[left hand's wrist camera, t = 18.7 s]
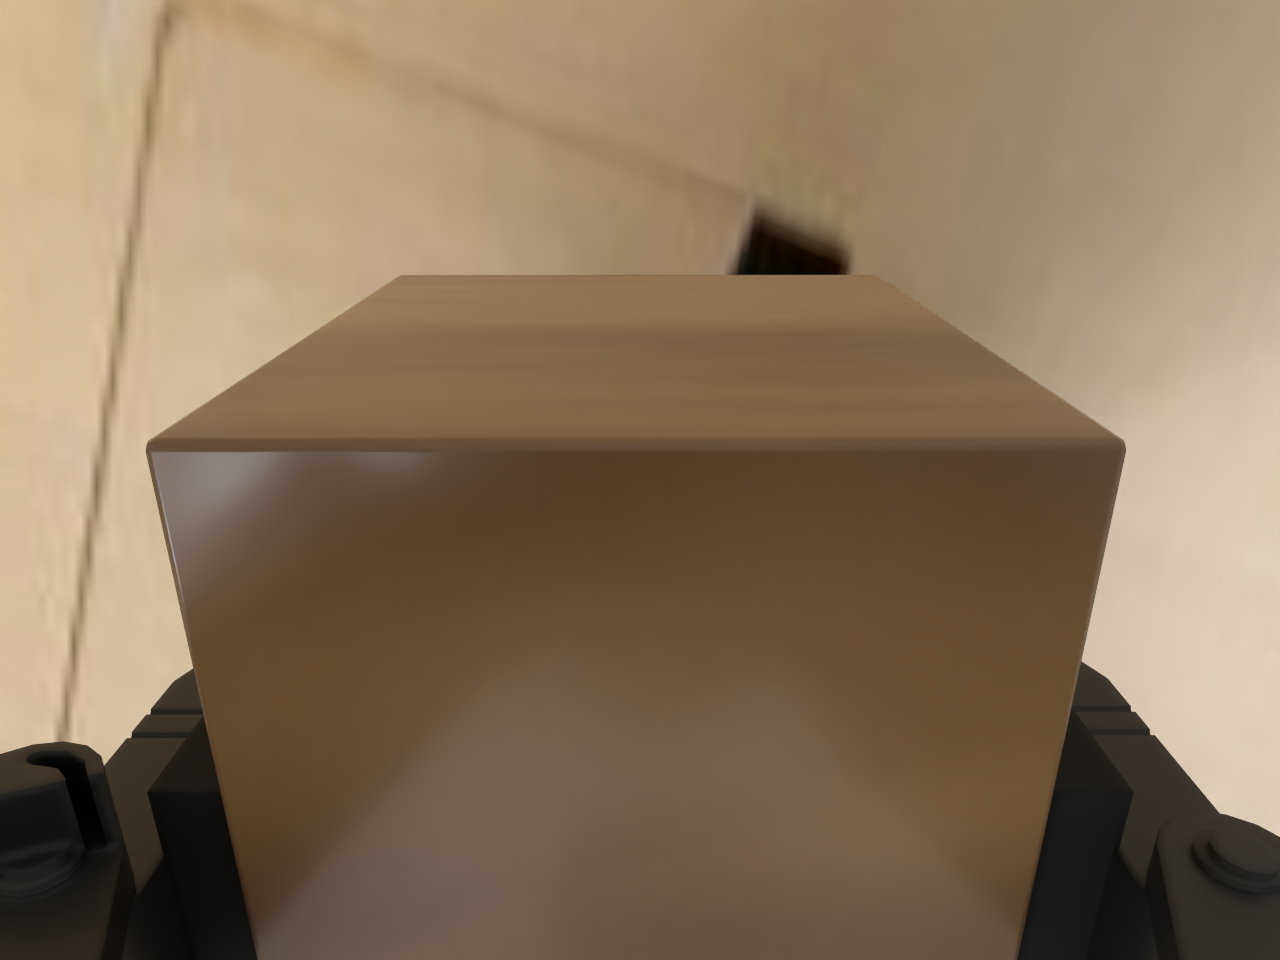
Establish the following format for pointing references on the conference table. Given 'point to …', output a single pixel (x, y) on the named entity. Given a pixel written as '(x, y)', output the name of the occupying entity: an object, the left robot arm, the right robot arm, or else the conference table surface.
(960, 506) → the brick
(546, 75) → the conference table surface
